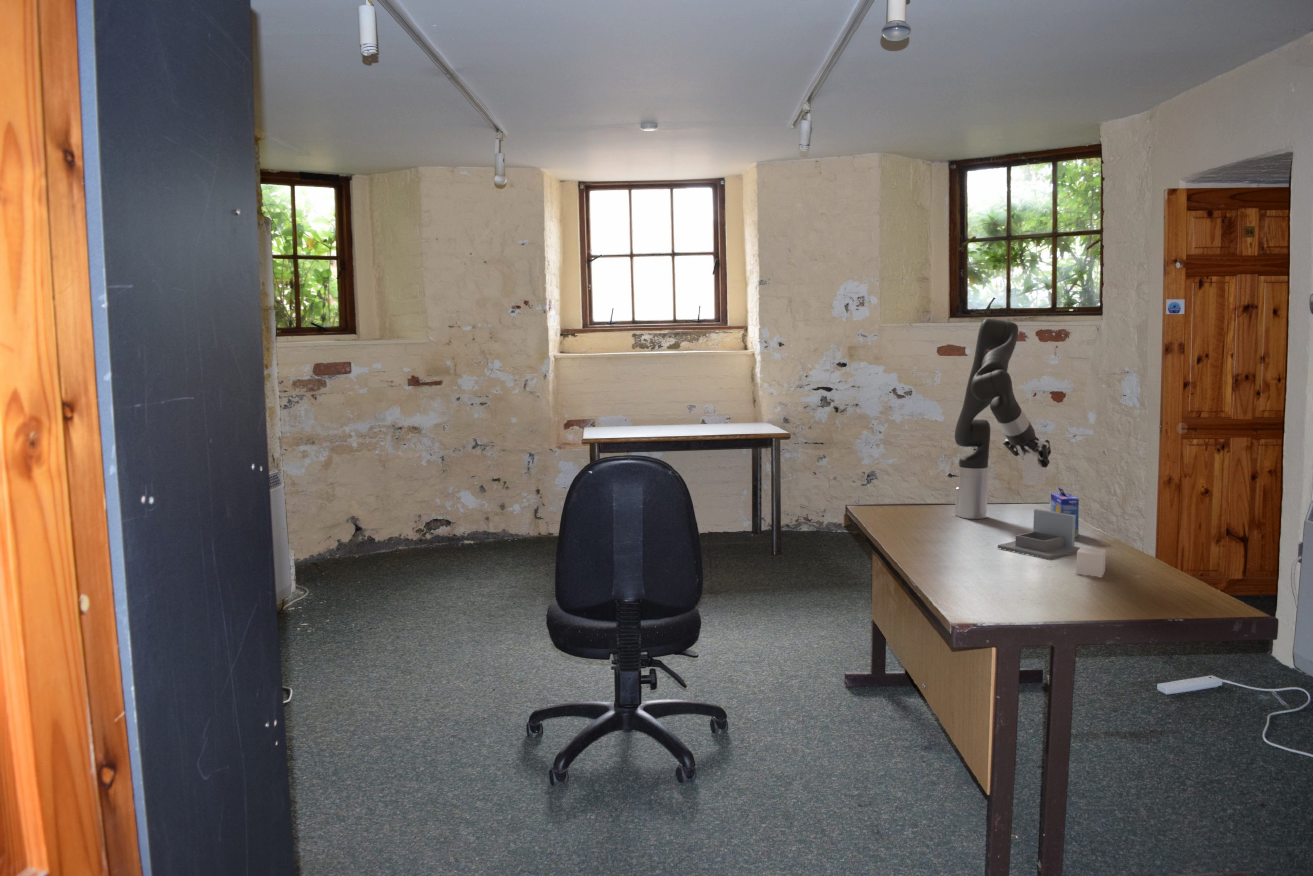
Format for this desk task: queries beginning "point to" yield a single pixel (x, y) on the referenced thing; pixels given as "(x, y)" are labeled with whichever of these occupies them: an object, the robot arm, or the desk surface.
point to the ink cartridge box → (1066, 506)
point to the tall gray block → (1033, 470)
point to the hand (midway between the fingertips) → (1038, 464)
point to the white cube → (1090, 561)
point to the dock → (1047, 536)
